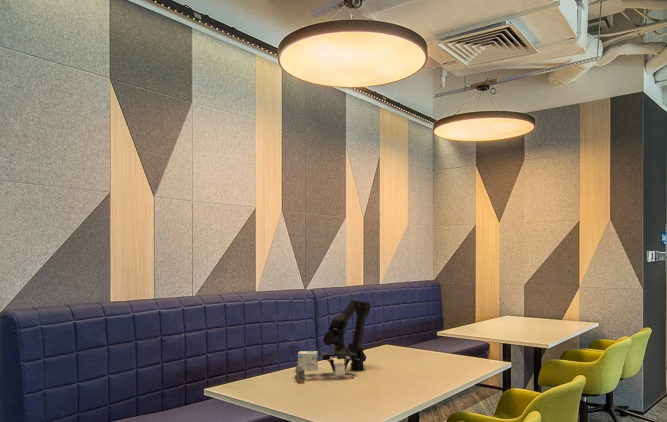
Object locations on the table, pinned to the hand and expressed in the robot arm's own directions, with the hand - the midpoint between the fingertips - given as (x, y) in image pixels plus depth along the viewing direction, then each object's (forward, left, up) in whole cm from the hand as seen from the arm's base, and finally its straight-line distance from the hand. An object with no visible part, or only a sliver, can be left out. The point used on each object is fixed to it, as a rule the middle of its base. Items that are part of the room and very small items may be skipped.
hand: (339, 372), depth 276 cm
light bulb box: (+14, -19, -3) cm, 24 cm away
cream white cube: (0, 0, -2) cm, 2 cm away
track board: (+8, 0, -3) cm, 9 cm away
